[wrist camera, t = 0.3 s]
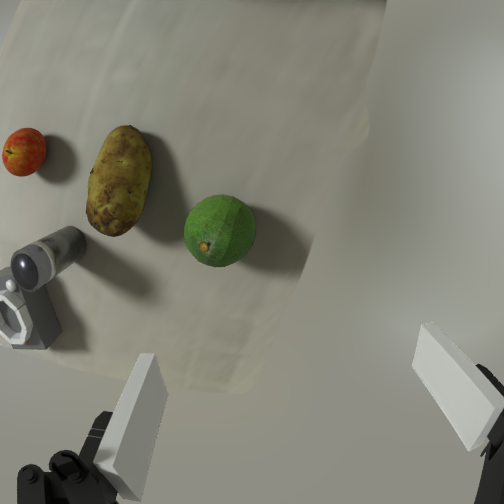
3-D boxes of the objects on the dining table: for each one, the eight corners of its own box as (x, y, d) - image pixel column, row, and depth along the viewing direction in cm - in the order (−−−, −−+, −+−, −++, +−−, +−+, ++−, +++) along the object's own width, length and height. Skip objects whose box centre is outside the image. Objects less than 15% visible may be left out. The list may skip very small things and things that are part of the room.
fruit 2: (240, 260, 41) (239, 300, 29) (184, 238, 40) (161, 271, 28) (263, 204, 38) (272, 223, 27) (205, 181, 37) (188, 191, 26)
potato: (178, 143, 36) (162, 140, 28) (141, 233, 39) (119, 251, 31) (124, 121, 35) (97, 115, 27) (91, 209, 38) (62, 221, 30)
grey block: (4, 267, 40) (-23, 284, 32) (36, 260, 40) (7, 278, 32) (29, 332, 44) (7, 354, 36) (62, 331, 44) (40, 356, 36)
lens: (54, 229, 38) (4, 254, 27) (81, 222, 38) (31, 246, 27) (63, 262, 40) (18, 295, 28) (90, 257, 40) (46, 291, 28)
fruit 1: (39, 183, 36) (6, 190, 29) (17, 156, 35) (-16, 160, 27) (62, 145, 35) (29, 146, 27) (38, 120, 33) (5, 117, 26)
